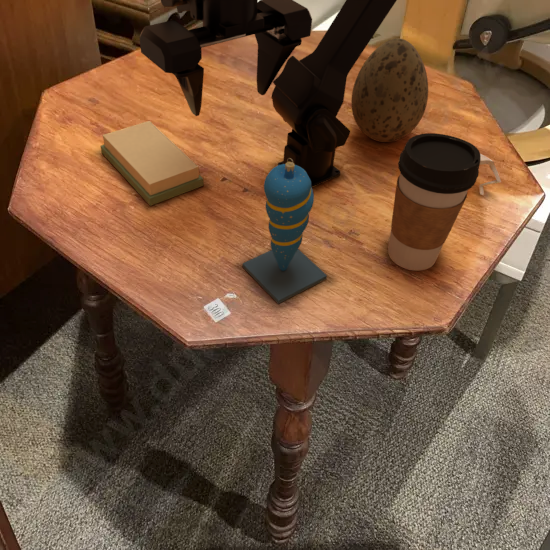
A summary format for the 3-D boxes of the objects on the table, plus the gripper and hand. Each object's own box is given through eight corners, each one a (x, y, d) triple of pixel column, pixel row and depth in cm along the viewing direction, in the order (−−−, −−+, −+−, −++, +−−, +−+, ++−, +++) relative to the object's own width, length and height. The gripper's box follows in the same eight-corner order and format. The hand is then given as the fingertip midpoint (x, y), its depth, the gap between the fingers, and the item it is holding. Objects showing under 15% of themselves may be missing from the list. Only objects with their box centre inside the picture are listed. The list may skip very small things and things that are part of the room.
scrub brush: (152, 136, 88) (150, 118, 86) (203, 185, 81) (203, 167, 79) (101, 152, 85) (98, 134, 82) (150, 206, 77) (148, 187, 75)
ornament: (285, 292, 67) (296, 182, 56) (249, 270, 69) (254, 160, 59) (312, 267, 70) (328, 159, 59) (278, 247, 72) (287, 138, 61)
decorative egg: (332, 127, 93) (345, 30, 82) (388, 112, 97) (408, 18, 86) (372, 164, 86) (393, 64, 76) (431, 147, 91) (458, 50, 80)
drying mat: (289, 244, 73) (289, 241, 73) (326, 279, 70) (327, 275, 69) (242, 266, 70) (242, 263, 70) (278, 304, 67) (278, 300, 66)
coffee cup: (430, 289, 70) (467, 183, 59) (365, 258, 73) (389, 152, 62) (457, 249, 75) (495, 145, 64) (395, 222, 78) (422, 118, 67)
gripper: (259, -75, 68) (254, 58, 79) (105, -51, 60) (124, 94, 71) (322, -44, 62) (307, 94, 73) (162, -13, 54) (172, 139, 65)
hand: (229, 103), depth 71 cm, fingers open, 9 cm apart
